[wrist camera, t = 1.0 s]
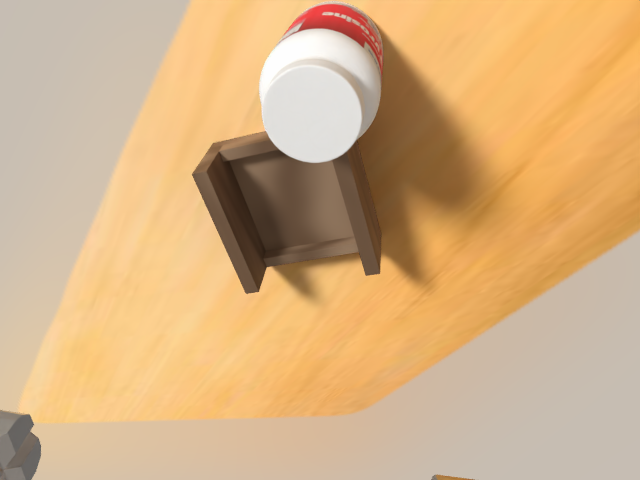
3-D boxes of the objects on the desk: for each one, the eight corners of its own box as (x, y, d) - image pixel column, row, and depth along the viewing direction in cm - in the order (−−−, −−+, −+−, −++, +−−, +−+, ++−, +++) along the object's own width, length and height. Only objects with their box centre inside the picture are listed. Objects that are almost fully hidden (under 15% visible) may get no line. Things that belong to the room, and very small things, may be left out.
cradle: (349, 111, 35) (343, 141, 31) (381, 235, 40) (380, 273, 36) (212, 143, 38) (192, 174, 34) (259, 255, 43) (245, 293, 39)
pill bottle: (404, 55, 33) (408, 123, 24) (332, 118, 36) (311, 200, 27) (335, -26, 31) (311, 15, 22) (265, 48, 34) (217, 111, 24)
